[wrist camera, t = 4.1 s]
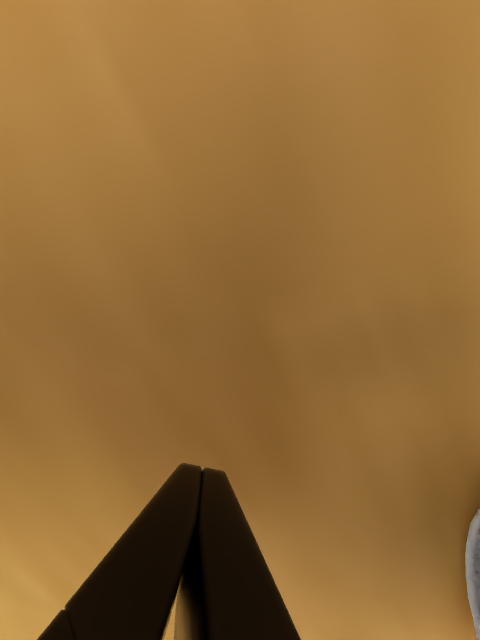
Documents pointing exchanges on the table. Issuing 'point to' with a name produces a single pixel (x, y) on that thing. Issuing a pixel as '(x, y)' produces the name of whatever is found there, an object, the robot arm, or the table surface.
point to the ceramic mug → (474, 570)
